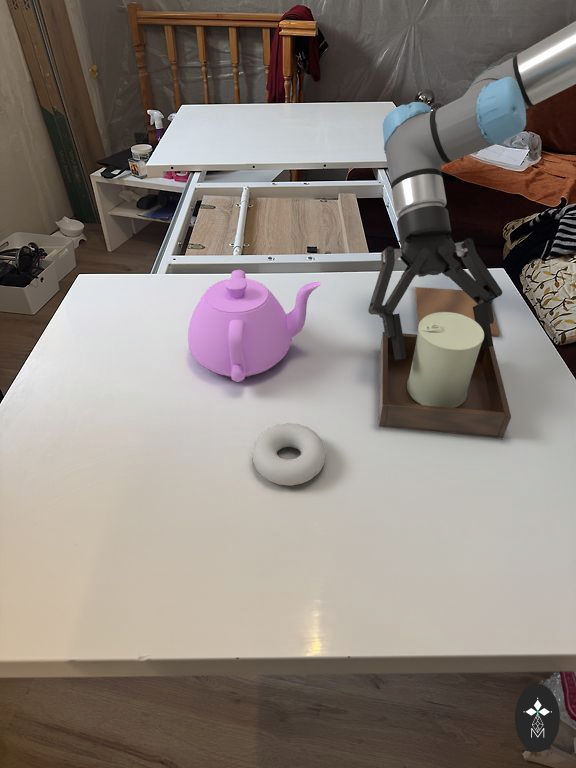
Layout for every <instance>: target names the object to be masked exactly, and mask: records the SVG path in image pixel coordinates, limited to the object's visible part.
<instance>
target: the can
mask: <svg viewBox="0 0 576 768" xmlns="http://www.w3.org/2000/svg"><path fill="white" fill-rule="evenodd" d="M417 334H418V335H417V341H416V346H415V351H414V356H413V362H412V367H411V371H410V376H409V379H408V381H407V390H408V393H409V395H410V396H411V397H412V398H413V399H414V400H415V401H416V402H418V403H419V404H421V405H428V406H439V407H450V408H456V407H458V406H460V405H461V404H462V403H463V402H464V401H465V400H466V397H467V390H468V386H469V383H470V379H471V376H472V373H473V369H474V366H475V363H476V360H477V356H478V353H479V350H480V347H481V344H482V342H483V340H484V331H483V329H482V328H481V326H480V325H479V324H478V323H477V322H475V321H474V320H472V319H471V318H469V317H466V316H464V315H461V314H457V313H451V312H438V313H433V314H430V315H427V316H426V317H424V318H423V319H422V320H421V321H420V323H419V327H418V326H417Z"/></svg>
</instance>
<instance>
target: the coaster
mask: <svg viewBox="0 0 576 768" xmlns="http://www.w3.org/2000/svg"><path fill="white" fill-rule="evenodd" d="M414 293H415V294H414V296H415V308H416V309H415V310H416V319H417V328H418V327H419V323H420V321H421V320H422V319H423V318H424V317H426V316H427V315H430V314H433V313H438V312H451V313H457V314H461V315H464V316H466V317H469V318H471V319H472V320H474V321H475V318H474V312H473V307H474V306H476V305H478V304H477V303H476V302H475V301H474V300H473V299H472V298H471V297H470V296H469V295H468V294H466V293H465V292H464V291H463V290H462V289H449V288H435V287H433V288H432V287H421V286H415V287H414ZM492 311H493V317H494V322H493V324H490V328H491V334H492V337H493V338H494V337H495V338H499V336H500V332H499V328H498V324H497V320H496V317H495V314H494V309H493V308H492Z"/></svg>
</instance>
